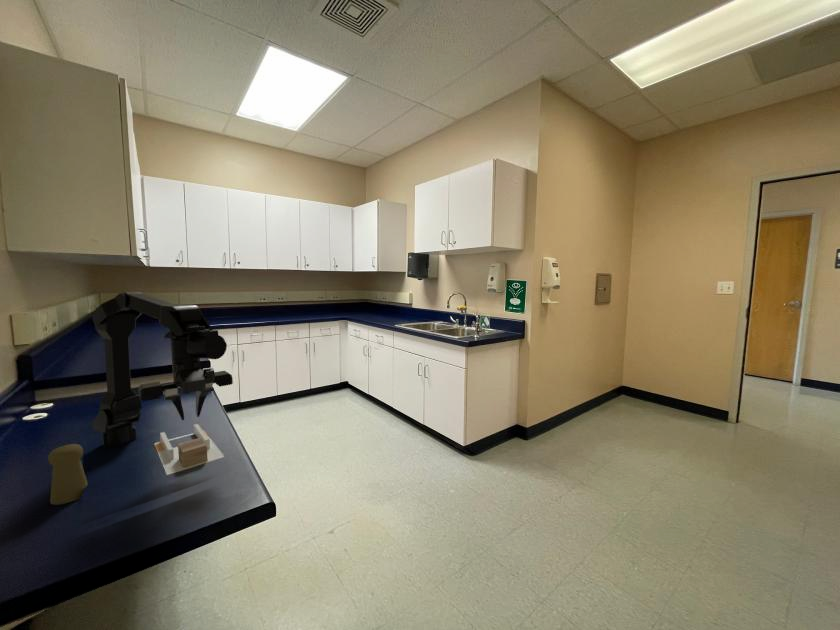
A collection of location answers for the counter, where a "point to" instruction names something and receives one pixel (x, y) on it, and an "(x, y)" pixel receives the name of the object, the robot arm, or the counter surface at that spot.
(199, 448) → the walnut block
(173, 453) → the white mounting bracket
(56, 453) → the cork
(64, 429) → the counter surface
